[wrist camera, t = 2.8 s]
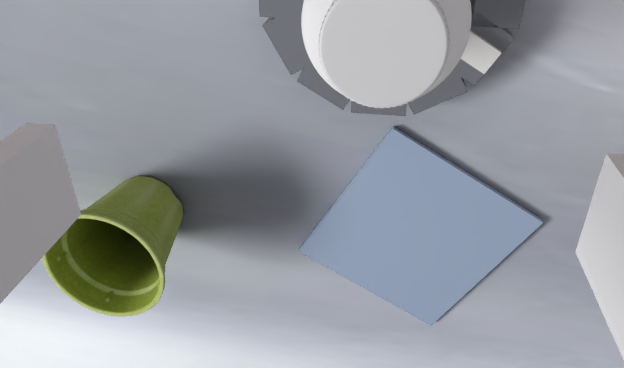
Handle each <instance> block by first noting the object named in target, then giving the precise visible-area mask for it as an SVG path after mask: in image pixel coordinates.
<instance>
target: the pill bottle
mask: <svg viewBox="0 0 624 368" xmlns="http://www.w3.org/2000/svg"><path fill="white" fill-rule="evenodd" d="M471 19H472V12H471V2H470V0H304V2H303V7H302V15H301V28H302V36H303V41H304V45H305V48H306V51H307V54H308V56H309V58H310V60H311V62H312V64H313V66H314V67H315V69H316V70H317V72H318V73H319V75H320V76H321V77H322V78H323V79H324V80H325V81H326V82H327V83H328V84H329V85H330V86H331V87H332V88H333V89H335V90H336V91H338V92H339V93H341V94H342V95H344V96H345V97H346V98H349V99H350V100H351V101H353V102H354V101H355V102H356V103H358V104H362V105H363V106H368V107H374V108H390V107H396V106H401V105H403V104H407V103H408V102H410V101H411V102H412V101H414V99H417V98H419V97H421V96H423V95H425V94H427V93H428V92H430V91H431V90H433V89H434V88H436V87H437V86H438V85H439V84H440V83H441V82H443V81H444V80H445V79H446V78H447V77H448V75H449V74H450V73H451V72H452V71H453V69H454V68H455V67H456V65H457V64H458V62H459V60H460V59H461V57H462V55H463V53H464V50H465V48H466V45H467V42H468V39H469V35H470V29H471Z"/></svg>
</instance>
